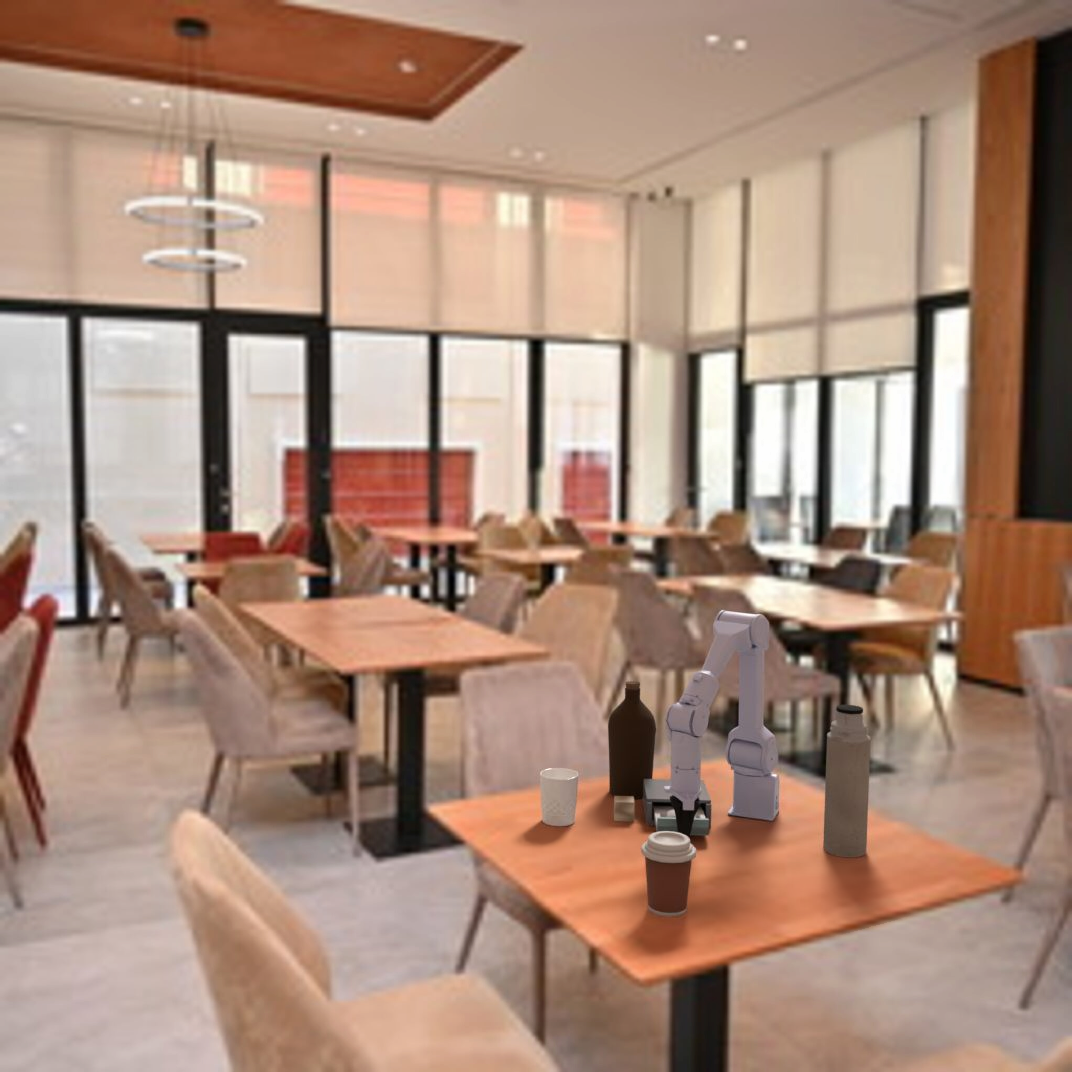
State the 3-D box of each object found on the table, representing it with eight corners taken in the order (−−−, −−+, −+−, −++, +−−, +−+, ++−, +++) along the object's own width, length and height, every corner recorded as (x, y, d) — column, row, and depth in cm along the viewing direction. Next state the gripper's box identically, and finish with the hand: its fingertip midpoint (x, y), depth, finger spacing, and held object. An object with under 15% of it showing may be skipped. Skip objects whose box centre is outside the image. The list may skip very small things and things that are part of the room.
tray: (701, 814, 220) (702, 800, 220) (708, 835, 208) (708, 819, 208) (653, 813, 220) (653, 798, 220) (657, 833, 209) (657, 818, 208)
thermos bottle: (835, 839, 211) (840, 699, 208) (873, 849, 205) (879, 706, 203) (815, 849, 205) (820, 706, 203) (854, 861, 199) (859, 713, 197)
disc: (695, 828, 210) (695, 818, 210) (666, 827, 210) (667, 817, 210) (694, 819, 215) (695, 809, 215) (666, 818, 216) (667, 808, 216)
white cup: (578, 828, 215) (578, 779, 214) (538, 827, 215) (539, 778, 214) (577, 815, 223) (578, 768, 222) (539, 814, 223) (540, 767, 222)
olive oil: (625, 803, 231) (627, 689, 229) (597, 789, 240) (599, 680, 238) (664, 795, 236) (666, 684, 234) (635, 782, 245) (637, 675, 243)
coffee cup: (706, 908, 177) (707, 838, 176) (672, 925, 171) (674, 852, 170) (662, 892, 184) (663, 824, 183) (628, 908, 177) (630, 837, 176)
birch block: (633, 815, 223) (633, 796, 223) (633, 821, 219) (634, 802, 219) (613, 814, 223) (614, 795, 223) (614, 820, 219) (614, 801, 219)
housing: (702, 803, 231) (703, 780, 231) (710, 827, 217) (711, 802, 216) (642, 802, 232) (643, 778, 231) (646, 825, 217) (647, 800, 217)
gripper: (662, 754, 212) (660, 821, 213) (667, 776, 198) (666, 847, 199) (697, 755, 212) (696, 822, 213) (706, 777, 197) (704, 848, 198)
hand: (684, 834), depth 206 cm, fingers closed
